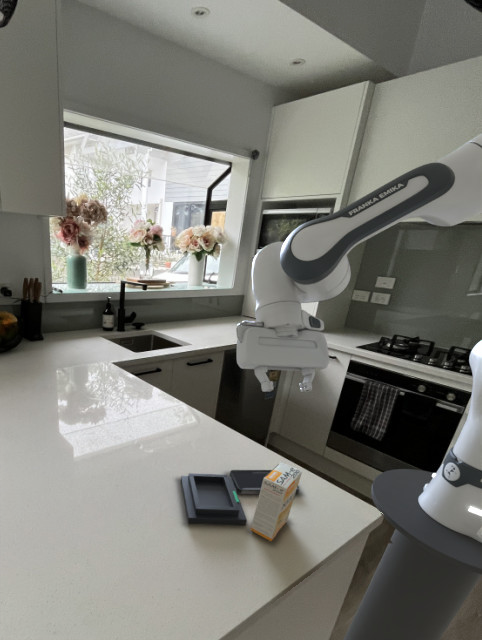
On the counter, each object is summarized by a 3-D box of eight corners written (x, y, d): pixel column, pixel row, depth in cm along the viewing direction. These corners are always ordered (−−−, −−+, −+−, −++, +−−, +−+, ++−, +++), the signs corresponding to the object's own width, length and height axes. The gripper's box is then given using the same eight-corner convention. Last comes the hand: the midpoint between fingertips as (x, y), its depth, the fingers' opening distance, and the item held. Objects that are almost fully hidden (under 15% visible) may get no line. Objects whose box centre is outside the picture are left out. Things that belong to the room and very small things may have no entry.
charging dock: (230, 482, 90) (232, 472, 89) (245, 525, 78) (248, 514, 76) (180, 480, 89) (181, 470, 88) (187, 523, 77) (189, 512, 76)
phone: (301, 490, 87) (238, 490, 86) (300, 493, 88) (237, 494, 86) (286, 469, 94) (228, 469, 93) (285, 473, 95) (228, 473, 93)
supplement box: (272, 543, 73) (287, 489, 68) (249, 530, 76) (262, 478, 71) (288, 521, 79) (303, 470, 74) (266, 510, 82) (280, 460, 76)
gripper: (245, 313, 69) (253, 387, 67) (330, 322, 76) (339, 388, 74) (226, 325, 75) (233, 393, 73) (306, 332, 82) (315, 394, 80)
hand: (287, 391), depth 74 cm, fingers open, 8 cm apart
